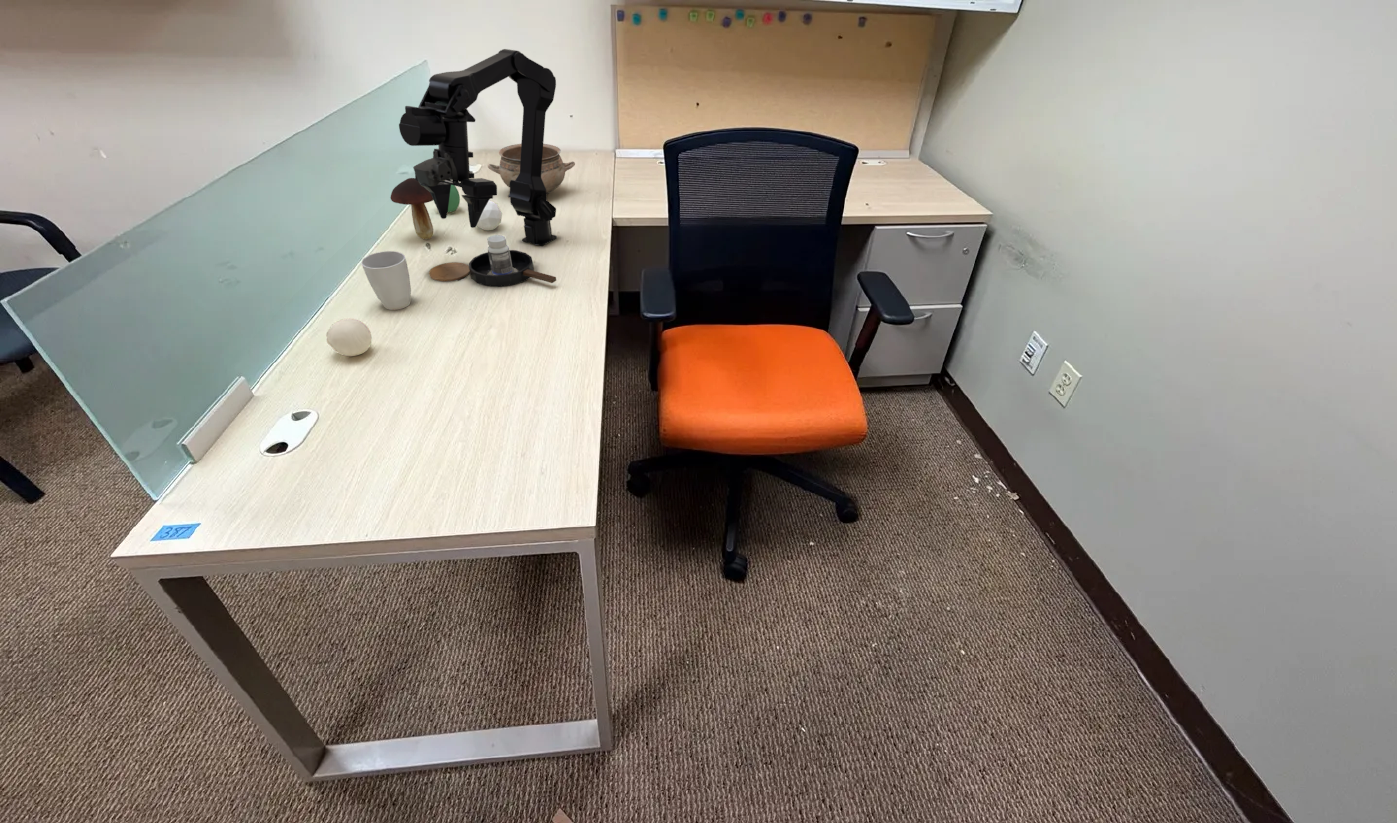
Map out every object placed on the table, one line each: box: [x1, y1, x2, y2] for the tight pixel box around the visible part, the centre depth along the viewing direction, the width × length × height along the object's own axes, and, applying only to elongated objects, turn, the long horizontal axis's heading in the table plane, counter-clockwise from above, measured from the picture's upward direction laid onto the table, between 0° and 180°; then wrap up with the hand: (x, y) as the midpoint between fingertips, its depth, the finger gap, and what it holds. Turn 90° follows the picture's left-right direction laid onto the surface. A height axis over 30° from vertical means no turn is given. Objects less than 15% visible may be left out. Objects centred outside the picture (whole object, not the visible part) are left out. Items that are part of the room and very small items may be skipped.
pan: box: [468, 249, 557, 288], centre depth 137 cm, size 14×22×3 cm, turn 63°
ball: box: [476, 199, 503, 231], centre depth 156 cm, size 8×8×8 cm
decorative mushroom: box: [389, 177, 434, 240], centre depth 148 cm, size 11×11×15 cm
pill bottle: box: [487, 234, 514, 275], centre depth 136 cm, size 5×5×8 cm
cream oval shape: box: [325, 317, 373, 357], centre depth 109 cm, size 7×7×7 cm
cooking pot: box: [487, 143, 576, 195], centre depth 177 cm, size 25×19×12 cm
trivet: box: [428, 261, 471, 282], centre depth 138 cm, size 9×9×1 cm
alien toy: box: [433, 185, 461, 213], centre depth 164 cm, size 7×8×10 cm
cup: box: [360, 250, 412, 311], centre depth 123 cm, size 8×8×10 cm
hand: (458, 222), depth 130 cm, fingers open, 9 cm apart
